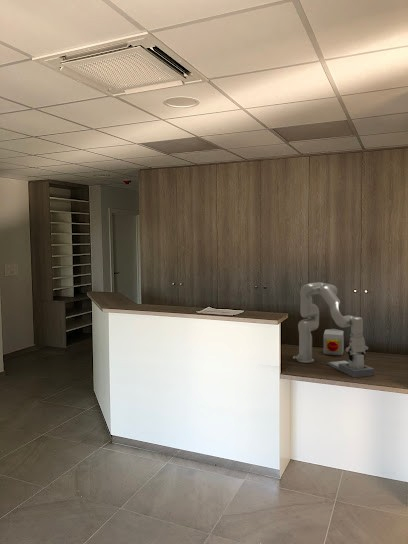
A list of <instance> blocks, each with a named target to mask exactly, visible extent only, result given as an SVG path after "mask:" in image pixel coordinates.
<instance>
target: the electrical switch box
mask: <svg viewBox="0 0 408 544" xmlns="http://www.w3.org/2000/svg"><path fill="white" fill-rule="evenodd" d="M344 333H345V331H344V330H340V329H336V328H330V329H325V330H324V333H323V354H324V355H332V356H343V355H344V350H345V349H344V348H345V347H344V346H345V345H344V340H345V339H344V337H345V336H344V335H345V334H344Z"/></svg>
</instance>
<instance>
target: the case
mask: <svg viewBox="0 0 408 544" xmlns="http://www.w3.org/2000/svg"><path fill="white" fill-rule="evenodd" d="M325 365H328V366H329V367H331V368H334V369H335V370H337V371H339V372H342V373H343V372H344V373H343V374H345V373H346V374H345V375H347V374H348V375H347V376H349V375H350V376H349V377H351V376H352V378H353V377H354V378H355V377H356V378H365V377H375V373H376V372H375V371H376V370H375V368H373V367H371V366H368V365H366V364H364V369H353V368H351V367H349V361H347V360H338V361H329V362H327V361H326V364H325ZM354 378H353V379H354Z"/></svg>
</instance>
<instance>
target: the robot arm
mask: <svg viewBox="0 0 408 544" xmlns="http://www.w3.org/2000/svg"><path fill="white" fill-rule="evenodd" d="M337 294H338V288H337V286H336V285H333V284H330V283H325V282H322V281H321V282H320V281H317V282H310V283H306V284H304V285H303V286H301V288H300V295H299V296H300V310H299V311H300V312H299V314H300V316H301V317H302V318H303V319H301V320H300V321H299V322H298V324H297V328H298V339H299V340H298V342H299V343H298V345H299V346H298V352H299V353H298V354H297V355H294V356H293V357H292V359H294V360H295V359H296V361H297V362H299V363H306V364H307V363H309V364H310V363H314V362H315V358H313V335H312V333H311V332H313V331H316V330H317V329H319V326H320V309H319V307H318V305H316V304H315V303H313V298H312V295H320V296H321V297H322V298H323V300H324V301H325V302H326V303H325V304H327V306H328V307H329V310H330V311H329V312H330V315H331V318H332V320H333V321H334V323H335V324H336V326H338V327H339V328H341V329H342V328H348V327H350V333H349V336H350V339H349V345H348V347H346V348H345V352H346V353H347V355H348V361H349V360H350V361H353V355H352V354H353V353H360V354H362V355H364V361H365V360H366V353H367V352H368V349H369V346H367V345H366V339H365V338H364V334H363V333H364V332H363V331H364V326H363V325H364V324H363V323H364V320H363V317H360V316H354V315H349V314H348V315H342V313H341V311H340V309H339V307H340V304H341V300H340V299H339V297H338V296H337Z"/></svg>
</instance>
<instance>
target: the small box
mask: <svg viewBox="0 0 408 544" xmlns="http://www.w3.org/2000/svg"><path fill="white" fill-rule="evenodd" d="M352 355H353V361H350V360H349V359H348V362H349V367H351V368H353V369H364V365H365V360H364V355H362V354H361V353H359V352H356V353H354V352H353V354H352Z"/></svg>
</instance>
